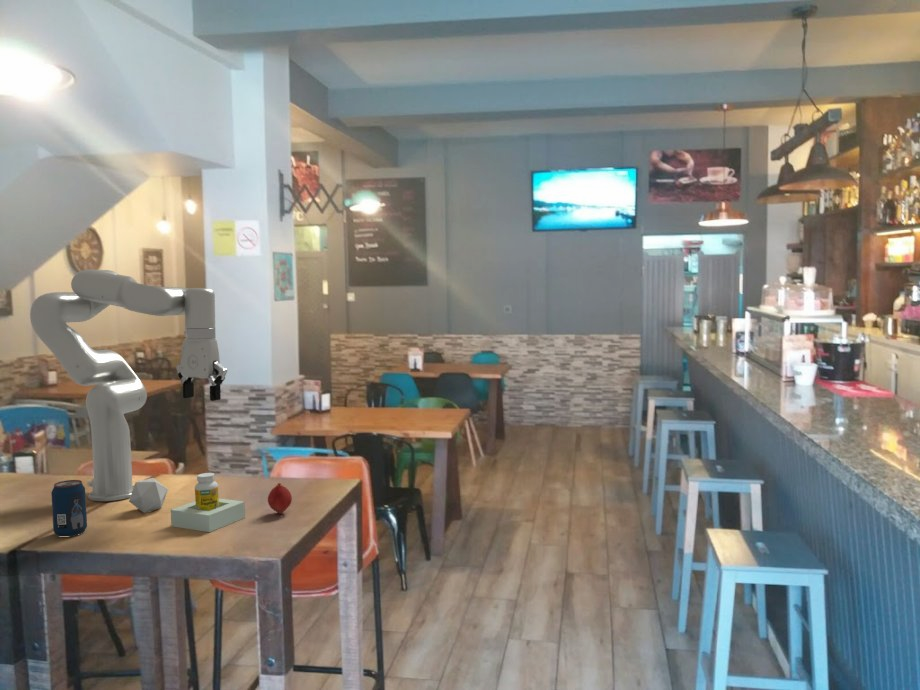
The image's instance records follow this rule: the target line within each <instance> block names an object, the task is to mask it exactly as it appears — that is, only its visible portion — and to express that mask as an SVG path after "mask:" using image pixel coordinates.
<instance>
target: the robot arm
mask: <svg viewBox="0 0 920 690" xmlns="http://www.w3.org/2000/svg"><path fill="white" fill-rule="evenodd" d="M70 285H71V287H70V288H71V290H72V291H73V292H66V291H64V292H63V291H58V292H57V291H56V292H49V293H44V294H42V295H40V296H38V297H37V298H35V299H34V301H33V302H32V304H31V307H30V313H29V314H30V315H29V317H30V318H29V319H30V323H31V326H32V328H33V331H34V332H35V334H36V336H37V337H38V338H39V340H41V342H43V344H44V345H45V346H46V347H47V348H48V349H49V350H50V352H51V353H52V354H53V356H54V357H55V358H56V360H57V361H58V362H59V364H60V365H61V367H62V368H63V369H64V370H65V371H66V373H67V375H69V377H70V378H71V380H72V381H73V382H74V383H75V384H76V385H78V386H83V387H88V386H89V387H90V386H93V387H92V388H90V390H88V393H87V394H86V399H85V406H86V412H87V414H88V419H89V423H90V430H91V431H90V433H91V434H90V435H91V446H92V465H93V466H92V469H93V477H92V479H91V481H90V480H89V481H88V482H87V483H86V485H87V486H88V487H91V488H92V491H91V492H89V493H88V499H89V500H91V501H93V502H113V501H121V500H125V499H130V497H131V494H132V491H133V488H134V485H133V469H132V467H133V466H132V450H131V447H132V444H131V431H130V426H129V424H128V421H127V419H126V417H125V414H128V413H132V412H134V411H135V412H136V411H138V410H141V409H142V407H143V406H144V405H145V404H146V402H147V399H148V394H147V389H146V387H145V384H143V382H142V381H141V379H140V378H139V376H138V375H137V374H136V373H135V372H134V369H132V367H131V366H130V365H129V363H128V362H127V361H126V359H124V358H123V357H122V355H121V354H119V353H117V352H116V351H114V350H111V349H93V348H92V347H91V346H90V344H88V343H87V341H86V340H85V339H84V337H83V336H82V335H81V334H80V333H79V332H78V331H77V330H76V329H74V328H72V327H71V326H69V325H68V324H69V323H82V322H86V321H90V320H92V319H93V318H94V317H96V316H97V315H99V314H100V313H101V312H102V311H104V310H106V309H107V308H109V306H110V305H111V306H115V307H119V308H123V309H125V310H128V311H131V312H135V313H138V314H144V315H149V316H150V315H151V316H156V317H165V316H169V317H170V316H183V315H184V332H183V333H184V335H185V337H184V338H185V339H183V341H182V346H181V351H180V352H181V353H180V363H179V364H177V365H175V366H176V367H175V369H176V372H177V376H178V377H179V379H180V383H181V384H182V398H183V399H189V398H193V397H194V396H195V395H194V394H195V392H194V391H195V387H194V385H195V384H194V381H193V380H194V379H207V380H208V381H209V383H210V385H209V400H210V402H214V401H220V400H221V396H222V395H221V385H223V382H224V381H225V379H226V375H227V373H228V369H227V368H226V367H224V366H223V365H222V364H221V362H220V359H221V358H220V351H219V346H218V342H217V341H218V340H217V339H216V296H215V291H214V290H213V289H212V288H208V287H207V288H205V287H191V288H190V287H189V288H187V287H182V286H181V287H180V286H155V285H148V284H142V283H138V282H137V281H136V279H135V278H134V277H132V276H129V275H123V274H119V273H117V272H116V271H114V270H109V269H84V270H80V271H77V273H76V274H74V275H73V277H72V279H71V282H70ZM67 323H68V324H67Z"/></svg>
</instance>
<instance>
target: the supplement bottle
mask: <svg viewBox="0 0 920 690" xmlns="http://www.w3.org/2000/svg"><path fill="white" fill-rule="evenodd" d="M196 478H197V479H196V481H197V483H196V484H195V486H194V497H195V501H196V510H203V511H211V510H213V509H216V508H219V498H220V497H219V484H218V483H217V481H215V478H216V477H215V473H214V472H205V473H200V474H197V475H196Z"/></svg>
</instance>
